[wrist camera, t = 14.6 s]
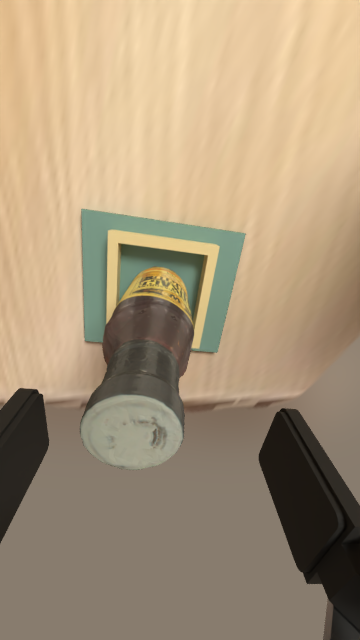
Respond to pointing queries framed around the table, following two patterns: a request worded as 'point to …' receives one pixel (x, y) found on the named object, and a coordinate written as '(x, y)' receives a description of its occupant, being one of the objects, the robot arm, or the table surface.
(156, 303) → the sauce bottle
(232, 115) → the table surface
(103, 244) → the teal board with frame
